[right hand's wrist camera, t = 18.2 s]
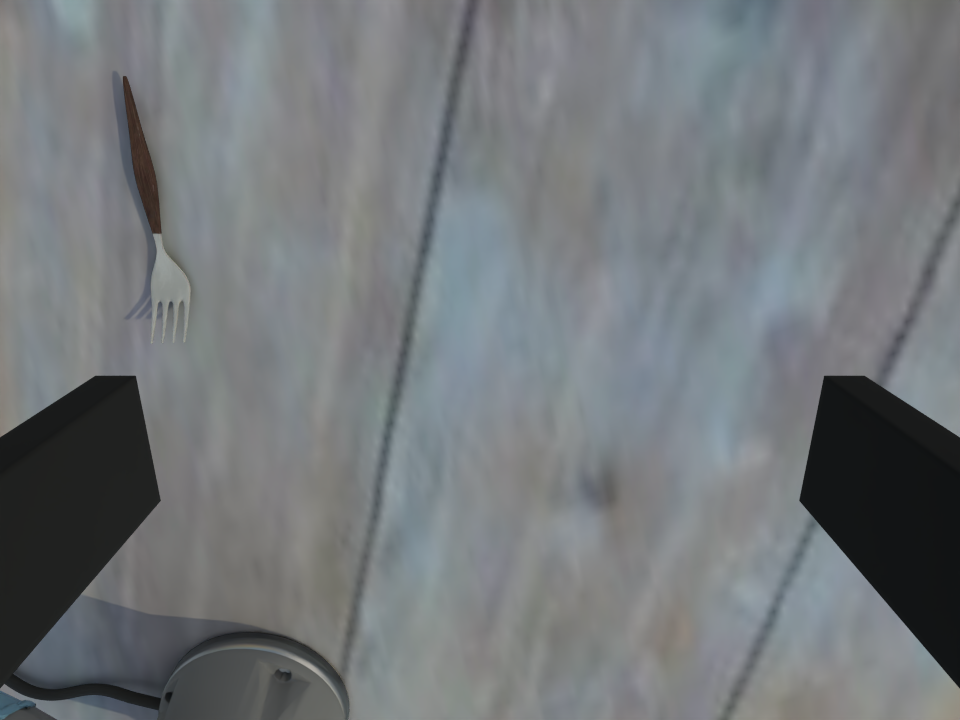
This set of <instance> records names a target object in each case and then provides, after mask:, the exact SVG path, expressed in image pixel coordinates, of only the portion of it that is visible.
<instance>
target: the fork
mask: <svg viewBox="0 0 960 720" xmlns="http://www.w3.org/2000/svg"><path fill="white" fill-rule="evenodd" d="M123 86H124V96H125V104H126V111H127V119H128V126H129V134H130V144H131V153H132V161H133V168H134V174H135V179H136V183H137V186H138V190H139V193H140V196H141V199H142V203H143V206H144V209H145V212H146V215H147V218H148V221H149V224H150V227H151V230H152V233H153V236H154V240H155V243H156V248H157V256H156V261H155V264H154V268H153V271H152V276H151V300H152V326H151V342H150V343H151V344H153V338H154V331H155V324H156V316H157V308H158V303H159V302H161V303H162V309H163V314H162V343H163V342H164V336H165V329H166V322H167V314H168V306H169V302H170V301H172V303H173V340H172V342H173V343H174V341H175V334H176V327H177V320H178V311H179V304H180V302H181V301H183V303H184V337H183V343H185V340H186V333H187V325H188V317H189V307H190V294H191V289H190V283H189V281H188V278H187V276H186V275H185V273H184V272H183V271H182V270H181V269H180V267H179V266H178V265H177V264H176V263H175V262H174V261H173V260H172V259H171V258H170V257H169V256H168V254H167V253H166V251H165V249H164V246H163V242H162V233H161V221H160V209H159V197H158V188H157V181H156V176H155V172H154V168H153V164H152V161H151V157H150V154H149V151H148V148H147V145H146V141H145V138H144V135H143V131H142V128H141V124H140V121H139V117H138V113H137V110H136V106H135V102H134V99H133V95H132V92H131V88H130V85H129V82H128V79H127V77H126V76H123Z"/></svg>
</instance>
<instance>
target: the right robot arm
mask: <svg viewBox="0 0 960 720" xmlns="http://www.w3.org/2000/svg"><path fill="white" fill-rule="evenodd" d="M160 501H161V500H160V495H159V490H158V485H157V480H156V475H155V470H154V465H153V460H152V455H151V450H150V445H149V440H148V435H147V430H146V425H145V420H144V415H143V410H142V405H141V400H140V395H139V390H138V385H137V380H136V376H95V377H93V378H91V379H90V380H88V381H87V382H85V383H84V384H82V385H81V386H79V387H77V388H76V389H74V390H73V391H71V392H70V393H68V394H67V395H65V396H64V397H62V398H60V399H59V400H57V401H56V402H54V403H53V404H51V405H50V406H48V407H47V408H45V409H43V410H42V411H40V412H39V413H37V414H36V415H34V416H33V417H31V418H30V419H28V420H26V421H25V422H23V423H22V424H20V425H19V426H17V427H16V428H14V429H13V430H11V431H9V432H8V433H6V434H5V435H3V436H2V437H0V688H1V687H2V686H3V684H6V685H7V686H8V687H10V688H11V689H13V690H15V691H16V692H18V693H20V694H22V695H25V696H27V697H30V698H34V699H39V700H49V701H55V700H64V699H70V698H74V697H79V696H85V695H103V696H108V697H112V698H115V699H118V700H121V701H124V702H127V703H131V704H135V705H139V706H143V707H147V708H152V709H156V710H159V714H158V719H157V720H348V717H349V698H348V694H347V691H346V688H345V686H344V684H343V682H342V680H341V678H340V677H339V675H338V674H337V672H336V671H335V670H334V669H333V667H332V666H331V665H330V664H329V663H328V662H327V661H326V660H324V659H323V658H322V657H321V656H320V655H318V654H317V653H315V652H314V651H312V650H311V649H309V648H307V647H305V646H303V645H301V644H299V643H297V642H295V641H292V640H289V639H286V638H283V637H280V636H275V635H271V634H264V633H233V634H228V635H223V636H219V637H216V638H213V639H210V640H208V641H206V642H204V643H201V644H200V645H198V646H197V647H195V648H193V649H192V650H191V651H190V652H188V653H187V654H186V655H185V656H184V657H183V658H182V660H181V661H180V662H179V663H178V665H177V667H176V668H175V670H174V672H173V673H172V675H171V677H170V679H169V681H168V682H167V684H166V686H165V688H164V691H163V694H162V697H161V698H157V697H153V696H149V695H144V694H140V693H136V692H133V691H129V690H126V689H123V688H120V687H117V686H113V685H107V684H85V685H79V686H74V687H69V688H64V689H44V688H40V687H36V686H33V685H31V684H29V683H27V682H25V681H23V680H22V679H20V678H18V677H17V676H15V675H14V674H13V673H14V672H15V670H16V669H17V668H18V667H19V666H20V665H21V663H22V662H23V661H24V660H25V659H26V658H27V656H28V655H29V654H30V653H31V652H32V651H33V649H34V648H35V647H36V646H37V645H38V644H39V642H40V641H41V640H42V639H43V638H44V637H45V635H46V634H47V633H48V632H49V631H50V630H51V628H52V627H53V626H54V625H55V624H56V622H57V621H58V620H59V619H60V618H61V617H62V615H63V614H64V613H65V612H66V611H67V610H68V608H69V607H70V606H71V605H72V604H73V603H74V601H75V600H76V599H77V598H78V597H79V596H80V594H81V593H82V592H83V591H84V590H85V589H86V587H87V586H88V585H89V584H90V583H91V582H92V580H93V579H94V578H95V577H96V576H97V575H98V573H99V572H100V571H101V570H102V569H103V568H104V566H105V565H106V564H107V563H108V562H109V560H110V559H111V558H112V557H113V556H114V555H115V553H116V552H117V551H118V550H119V549H120V548H121V546H122V545H123V544H124V543H125V542H126V541H127V539H128V538H129V537H130V536H131V535H132V534H133V532H134V531H135V530H136V529H137V528H138V527H139V525H140V524H141V523H142V522H143V521H144V520H145V518H146V517H147V516H148V515H149V514H150V513H151V511H152V510H153V509H154V508H155V507H156V506H157V504H158V503H159V502H160ZM799 501H800V502H801V503H802V504H803V506H804V507H805V508H806V509H807V510H808V511H809V513H810V514H811V515H812V516H813V517H814V518H815V520H816V521H817V522H818V523H819V524H820V525H821V527H822V528H823V529H824V530H825V531H826V532H827V534H828V535H829V536H830V537H831V538H832V539H833V541H834V542H835V543H836V544H837V545H838V546H839V548H840V549H841V550H842V551H843V552H844V553H845V555H846V556H847V557H848V558H849V559H850V560H851V562H852V563H853V564H854V565H855V566H856V568H857V569H858V570H859V571H860V572H861V573H862V575H863V576H864V577H865V578H866V579H867V580H868V582H869V583H870V584H871V585H872V586H873V587H874V589H875V590H876V591H877V592H878V593H879V594H880V596H881V597H882V598H883V599H884V600H885V601H886V603H887V604H888V605H889V606H890V607H891V608H892V610H893V611H894V612H895V613H896V614H897V615H898V617H899V618H900V619H901V620H902V621H903V622H904V624H905V625H906V626H907V627H908V628H909V630H910V631H911V632H912V633H913V634H914V635H915V637H916V638H917V639H918V640H919V641H920V642H921V644H922V645H923V646H924V647H925V648H926V649H927V651H928V652H929V653H930V654H931V655H932V656H933V658H934V659H935V660H936V661H937V662H938V663H939V665H940V666H941V667H942V668H943V669H944V670H945V672H946V673H947V674H948V675H949V676H950V677H951V679H952V680H953V681H954V682H955V683H956V684H957V686H958V687H959V688H960V437H958V436H957V435H955V434H954V433H952V432H951V431H949V430H947V429H946V428H944V427H943V426H941V425H940V424H938V423H937V422H935V421H934V420H932V419H930V418H929V417H927V416H926V415H924V414H923V413H921V412H920V411H918V410H917V409H915V408H913V407H912V406H910V405H909V404H907V403H906V402H904V401H903V400H901V399H900V398H898V397H896V396H895V395H893V394H892V393H890V392H889V391H887V390H886V389H884V388H882V387H881V386H879V385H878V384H876V383H875V382H873V381H872V380H870V379H869V378H867V377H865V376H824V380H823V385H822V390H821V395H820V400H819V405H818V410H817V415H816V420H815V425H814V430H813V435H812V440H811V445H810V450H809V455H808V460H807V465H806V470H805V475H804V480H803V485H802V490H801V495H800V500H799ZM0 720H57V719H55V718H53V717H51V716H50V715H48V714H46V713H44V712H43V711H41V710H39V709H37V708H36V704H35V703H34V702H32V701H28V700H24V701H20V700H18V699H16V698H14V697H12V696H10V695H8V694H6V693H4V692H2V691H0Z"/></svg>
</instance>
